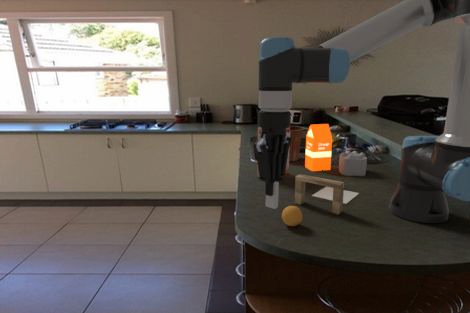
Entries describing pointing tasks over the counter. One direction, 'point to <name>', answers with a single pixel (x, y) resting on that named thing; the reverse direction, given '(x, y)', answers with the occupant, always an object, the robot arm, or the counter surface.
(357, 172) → the grey toy brick
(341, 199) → the bridge
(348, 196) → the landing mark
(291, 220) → the ball
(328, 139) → the orange juice
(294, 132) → the plant pot
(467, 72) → the robot arm
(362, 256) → the counter surface
